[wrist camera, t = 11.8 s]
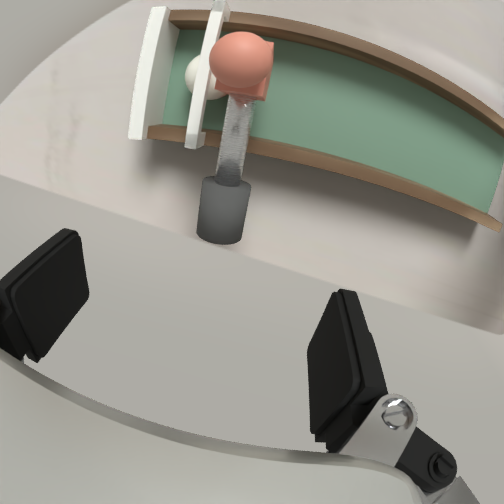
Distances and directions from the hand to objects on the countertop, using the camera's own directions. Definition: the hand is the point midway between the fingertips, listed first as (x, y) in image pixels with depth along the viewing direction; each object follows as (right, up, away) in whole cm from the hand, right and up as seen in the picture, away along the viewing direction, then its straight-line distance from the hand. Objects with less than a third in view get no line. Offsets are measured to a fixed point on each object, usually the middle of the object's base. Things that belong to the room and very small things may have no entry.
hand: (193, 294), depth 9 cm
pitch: (+12, +14, +12) cm, 21 cm away
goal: (-3, +16, +10) cm, 19 cm away
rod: (+2, +12, +12) cm, 16 cm away
